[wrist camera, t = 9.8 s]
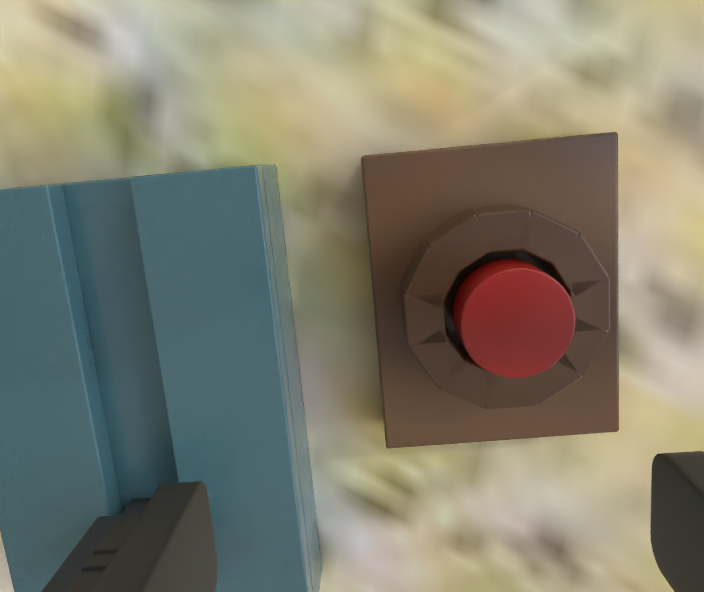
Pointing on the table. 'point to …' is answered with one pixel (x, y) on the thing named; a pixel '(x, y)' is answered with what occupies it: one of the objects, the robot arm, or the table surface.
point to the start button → (513, 318)
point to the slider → (89, 547)
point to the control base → (153, 369)
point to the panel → (475, 250)
